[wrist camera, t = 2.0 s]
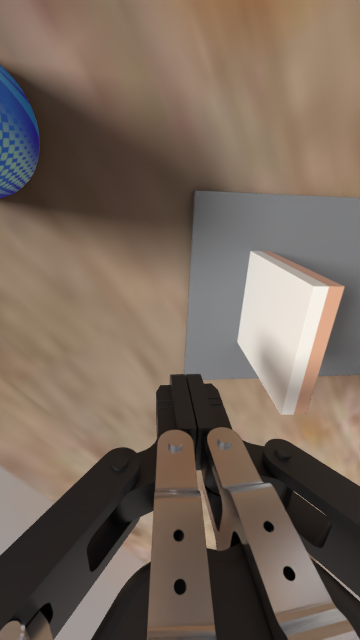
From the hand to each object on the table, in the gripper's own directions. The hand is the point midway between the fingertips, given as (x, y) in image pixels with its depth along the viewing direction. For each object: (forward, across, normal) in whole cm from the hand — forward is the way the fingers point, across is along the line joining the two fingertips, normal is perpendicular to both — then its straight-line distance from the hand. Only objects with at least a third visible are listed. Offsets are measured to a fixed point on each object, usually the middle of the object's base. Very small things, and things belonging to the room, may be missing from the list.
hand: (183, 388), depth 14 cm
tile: (+12, -8, 0) cm, 15 cm away
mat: (+13, -13, 0) cm, 18 cm away
